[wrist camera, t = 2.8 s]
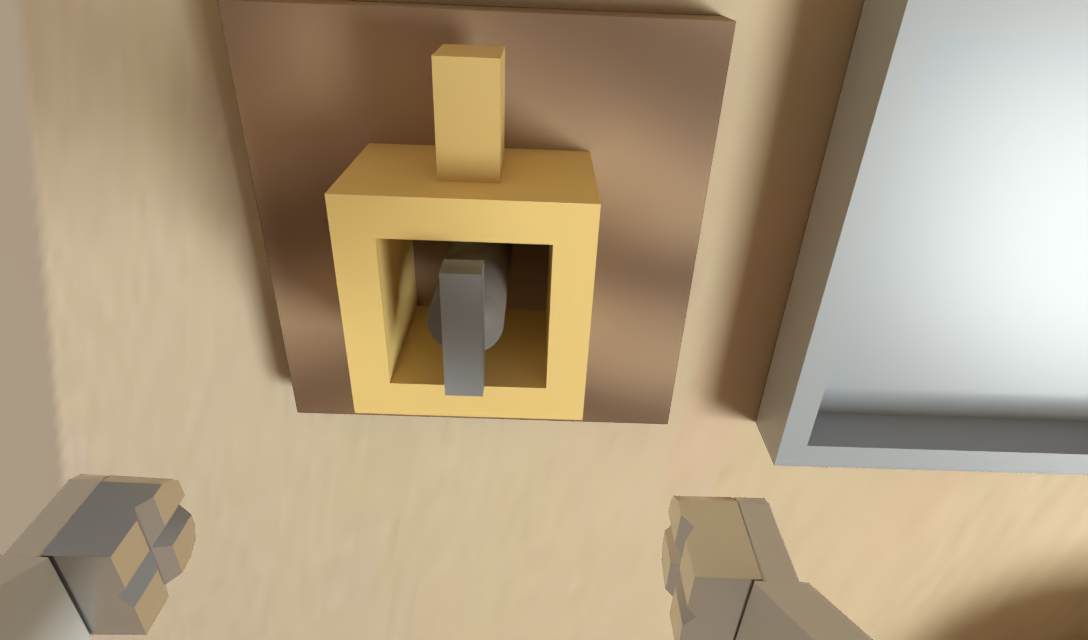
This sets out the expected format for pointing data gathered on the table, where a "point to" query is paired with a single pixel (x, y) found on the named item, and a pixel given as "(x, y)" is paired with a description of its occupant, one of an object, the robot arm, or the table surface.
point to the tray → (945, 250)
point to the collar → (469, 216)
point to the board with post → (530, 123)
